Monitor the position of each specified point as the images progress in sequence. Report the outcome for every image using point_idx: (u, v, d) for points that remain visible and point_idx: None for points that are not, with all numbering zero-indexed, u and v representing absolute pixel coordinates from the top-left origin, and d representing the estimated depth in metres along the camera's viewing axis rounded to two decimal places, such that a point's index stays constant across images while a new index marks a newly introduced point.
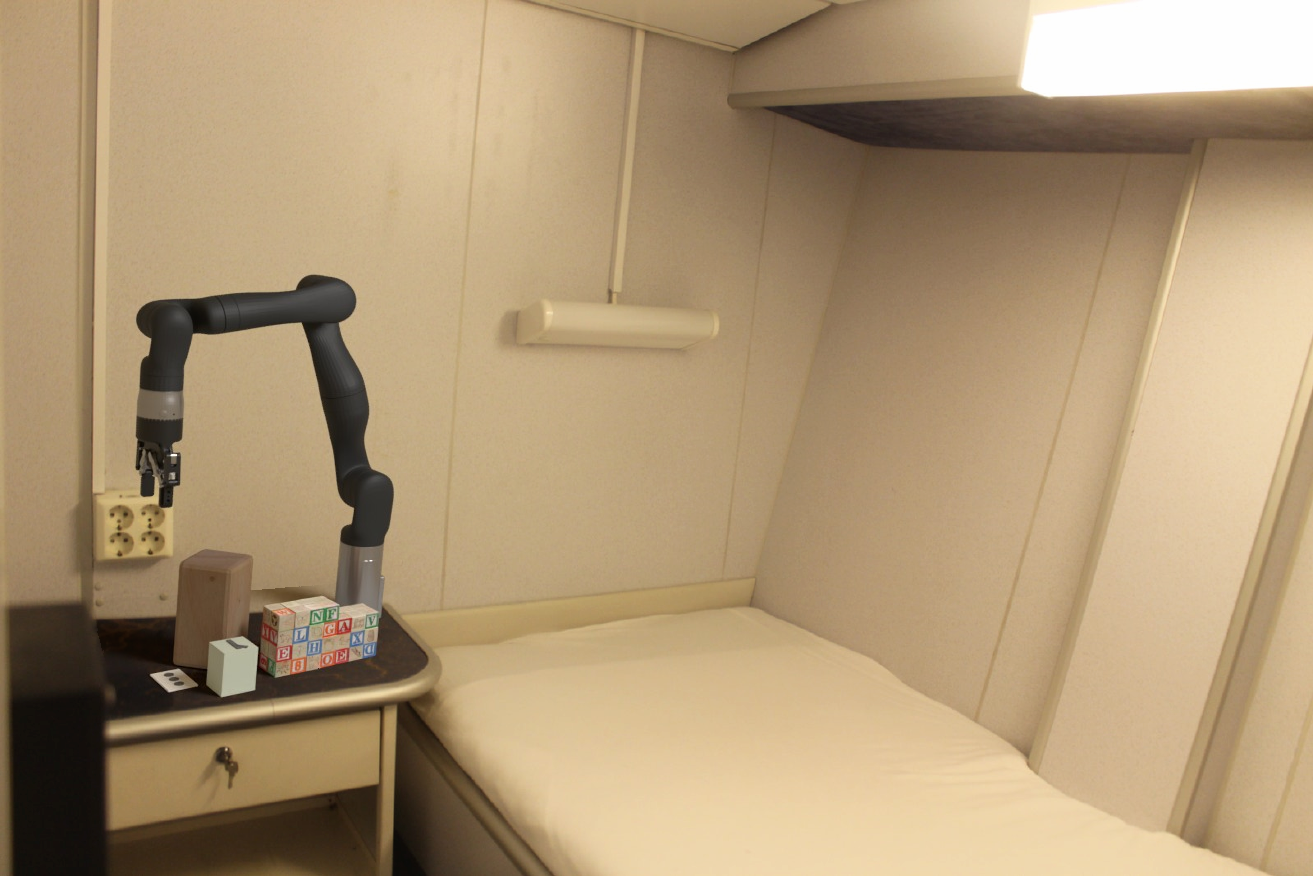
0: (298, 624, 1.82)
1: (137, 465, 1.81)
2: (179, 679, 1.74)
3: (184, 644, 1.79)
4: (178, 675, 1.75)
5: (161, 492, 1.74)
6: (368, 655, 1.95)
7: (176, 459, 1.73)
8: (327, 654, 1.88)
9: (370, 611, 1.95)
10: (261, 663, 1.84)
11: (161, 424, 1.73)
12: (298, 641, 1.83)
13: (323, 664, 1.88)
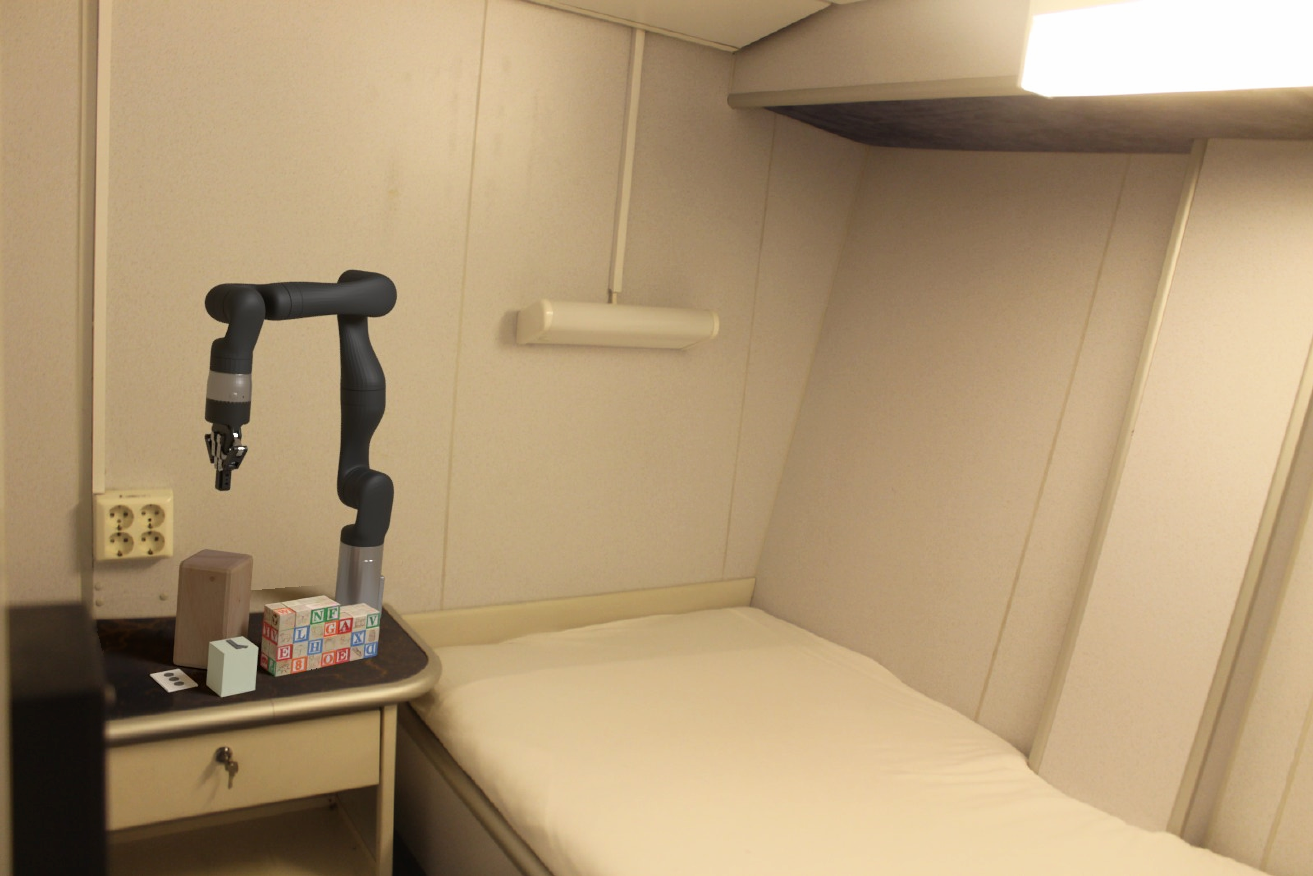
0: (299, 623, 1.82)
1: (211, 457, 1.80)
2: (179, 679, 1.74)
3: (184, 644, 1.79)
4: (178, 675, 1.75)
5: (220, 475, 1.78)
6: (369, 655, 1.95)
7: (242, 452, 1.75)
8: (327, 653, 1.88)
9: (371, 611, 1.95)
10: (262, 662, 1.84)
11: (231, 406, 1.74)
12: (298, 640, 1.83)
13: (324, 663, 1.88)
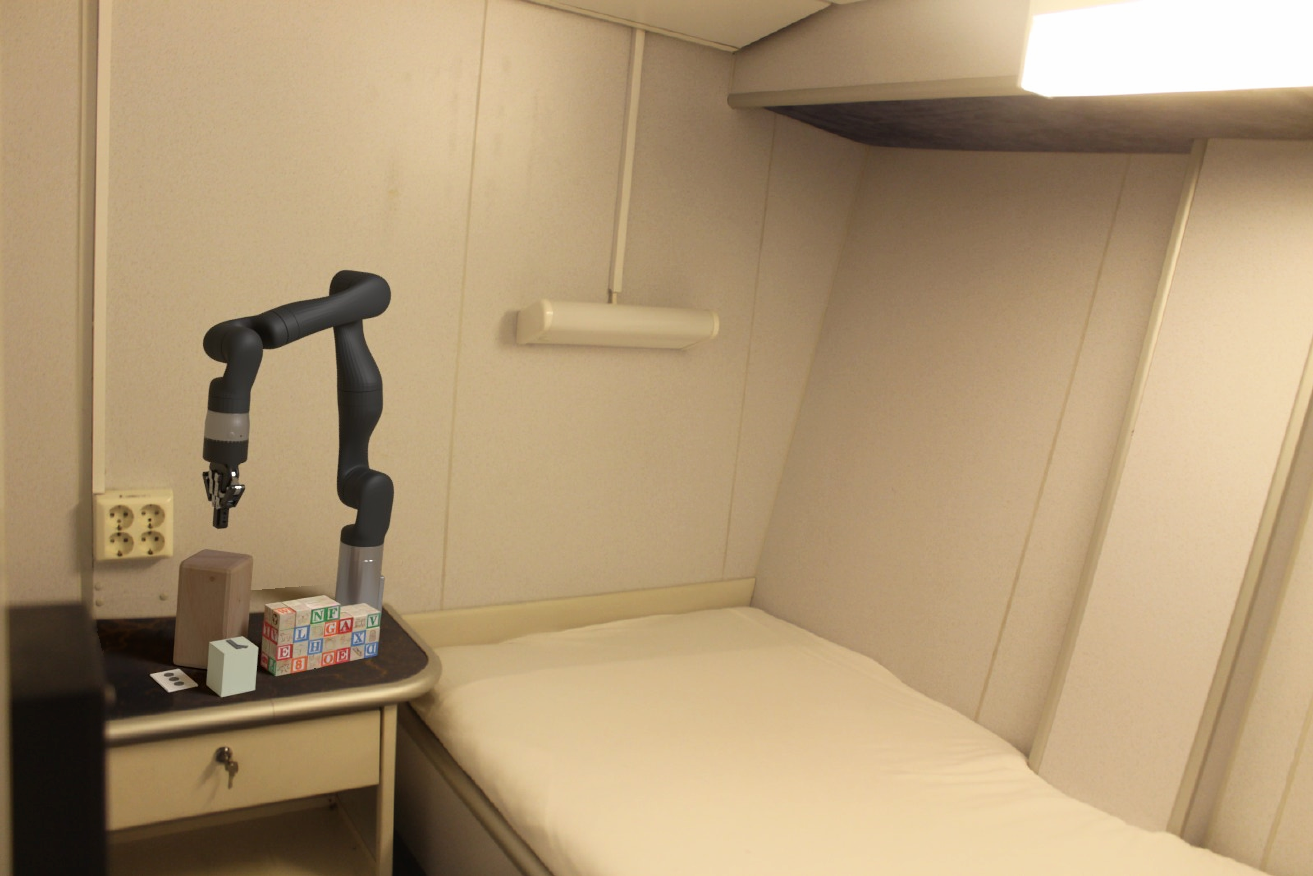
0: (299, 623, 1.83)
1: (209, 495, 1.81)
2: (179, 679, 1.74)
3: (184, 644, 1.79)
4: (178, 675, 1.75)
5: (217, 513, 1.79)
6: (370, 655, 1.95)
7: (239, 491, 1.76)
8: (328, 653, 1.88)
9: (371, 611, 1.95)
10: (262, 661, 1.85)
11: (229, 445, 1.75)
12: (298, 640, 1.83)
13: (324, 663, 1.88)
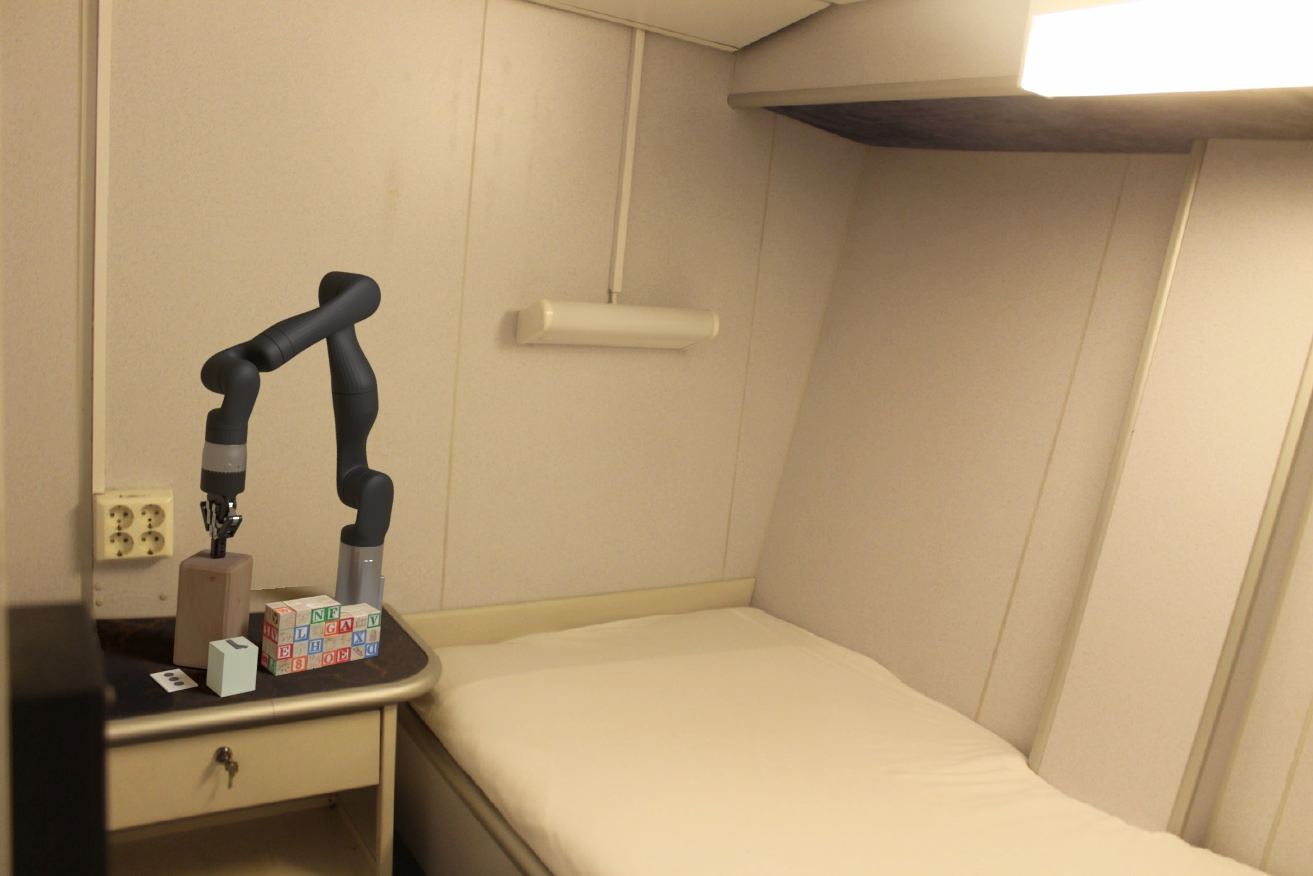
0: (299, 623, 1.83)
1: (206, 525, 1.81)
2: (179, 679, 1.74)
3: (184, 644, 1.79)
4: (178, 675, 1.75)
5: (215, 543, 1.80)
6: (370, 655, 1.96)
7: (237, 521, 1.77)
8: (328, 653, 1.89)
9: (372, 611, 1.95)
10: (263, 661, 1.85)
11: (226, 477, 1.76)
12: (299, 639, 1.83)
13: (324, 663, 1.88)
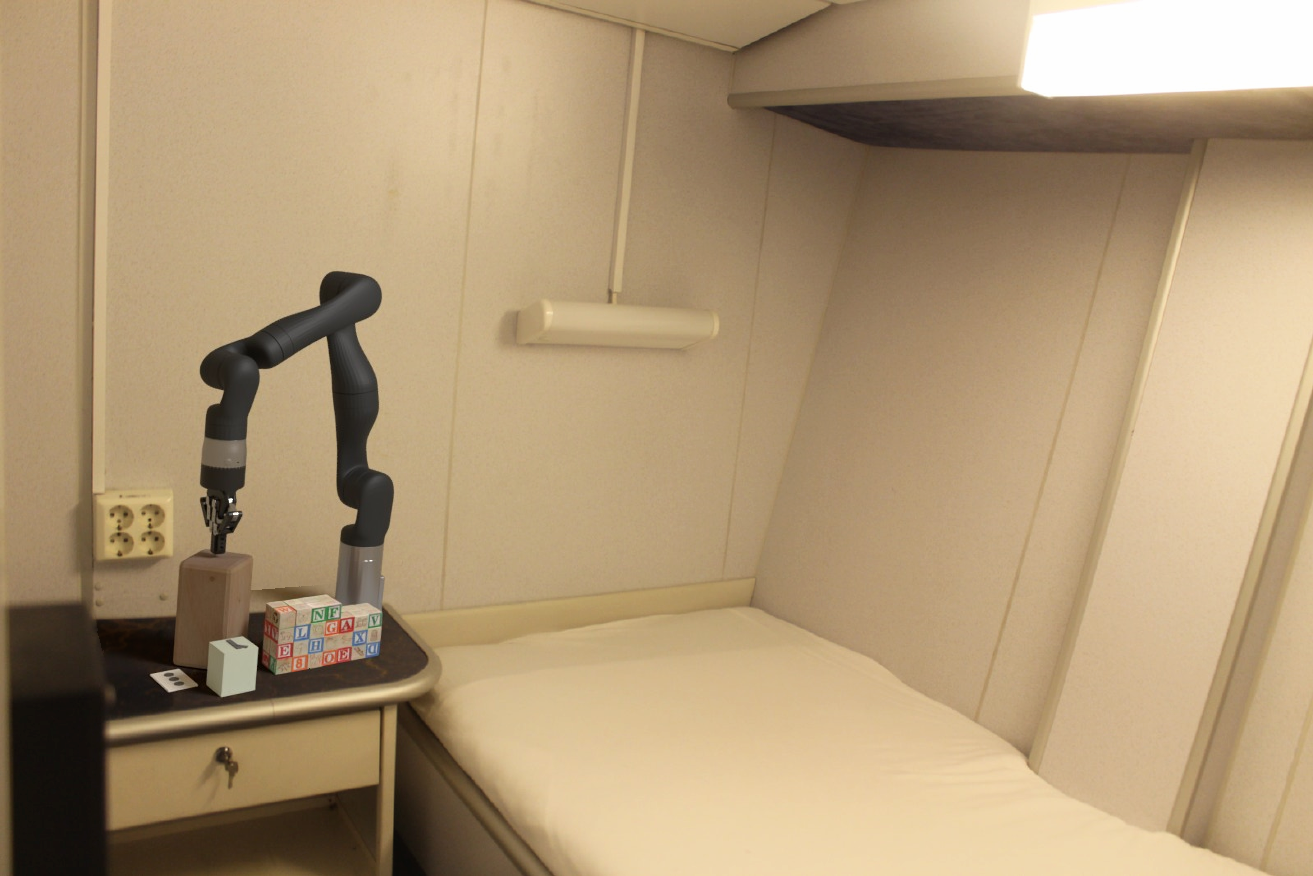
0: (300, 622, 1.83)
1: (206, 521, 1.81)
2: (179, 679, 1.74)
3: (184, 644, 1.79)
4: (178, 675, 1.75)
5: (215, 539, 1.80)
6: (371, 654, 1.96)
7: (236, 517, 1.77)
8: (328, 652, 1.89)
9: (373, 611, 1.95)
10: (263, 660, 1.85)
11: (226, 472, 1.76)
12: (299, 639, 1.84)
13: (325, 662, 1.89)
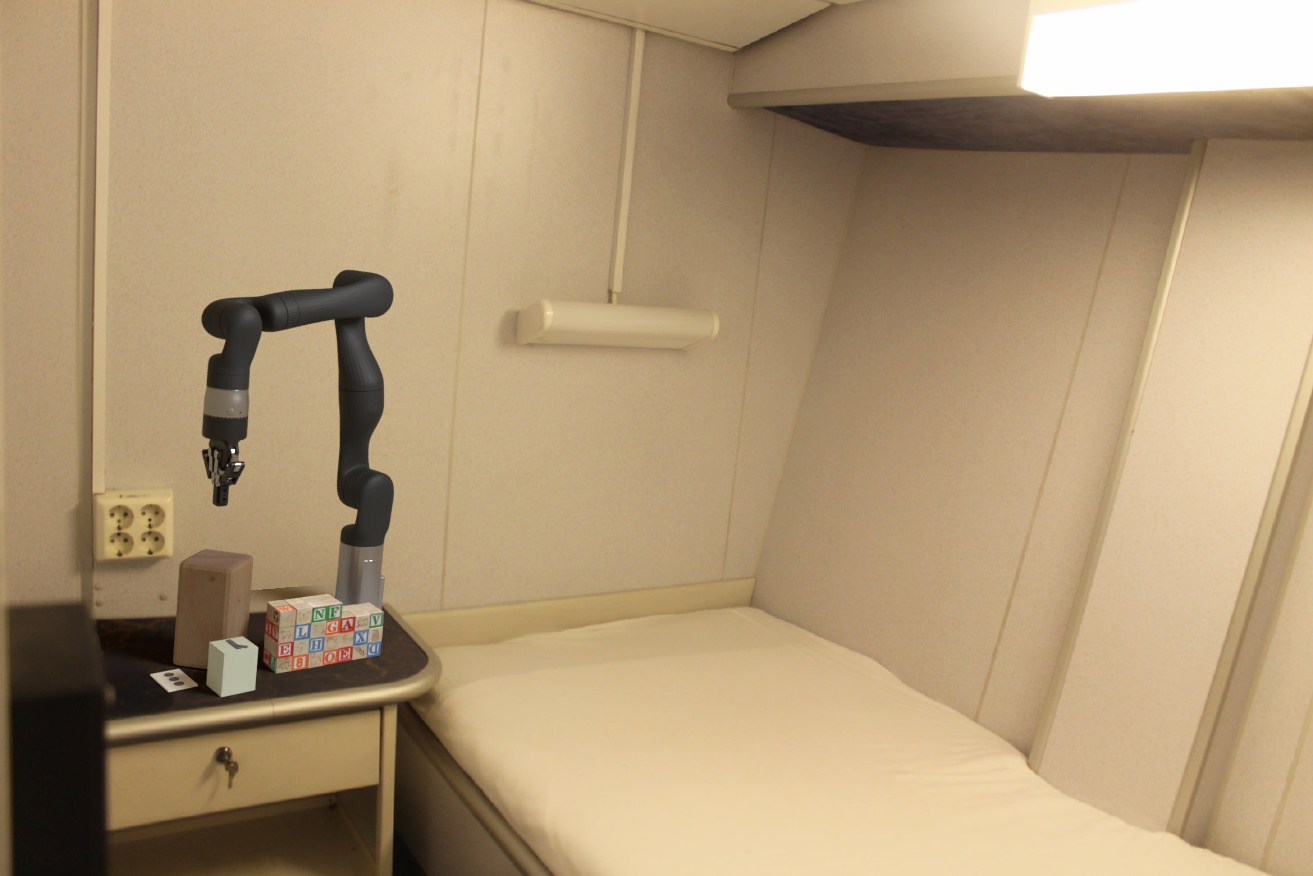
0: (300, 621, 1.84)
1: (209, 473, 1.80)
2: (179, 679, 1.74)
3: (184, 644, 1.79)
4: (178, 675, 1.75)
5: (217, 491, 1.78)
6: (372, 654, 1.96)
7: (239, 468, 1.75)
8: (329, 651, 1.89)
9: (375, 610, 1.96)
10: (264, 658, 1.86)
11: (228, 422, 1.74)
12: (299, 638, 1.84)
13: (326, 662, 1.89)
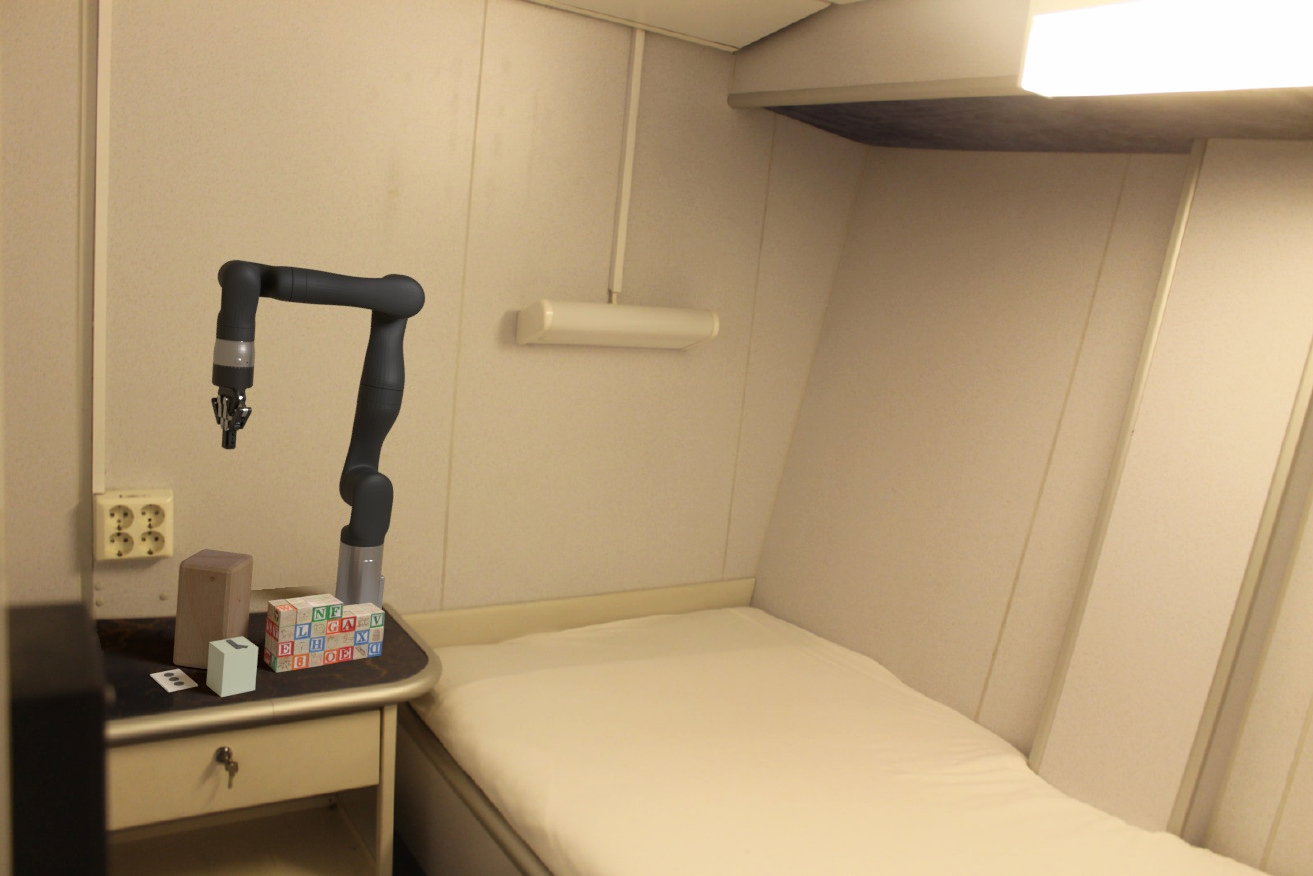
0: (300, 620, 1.84)
1: (218, 419, 1.96)
2: (179, 679, 1.74)
3: (184, 644, 1.79)
4: (178, 675, 1.75)
5: (226, 435, 1.95)
6: (373, 654, 1.96)
7: (246, 413, 1.92)
8: (330, 651, 1.89)
9: (376, 610, 1.96)
10: (265, 657, 1.87)
11: (236, 371, 1.91)
12: (300, 637, 1.85)
13: (326, 661, 1.89)
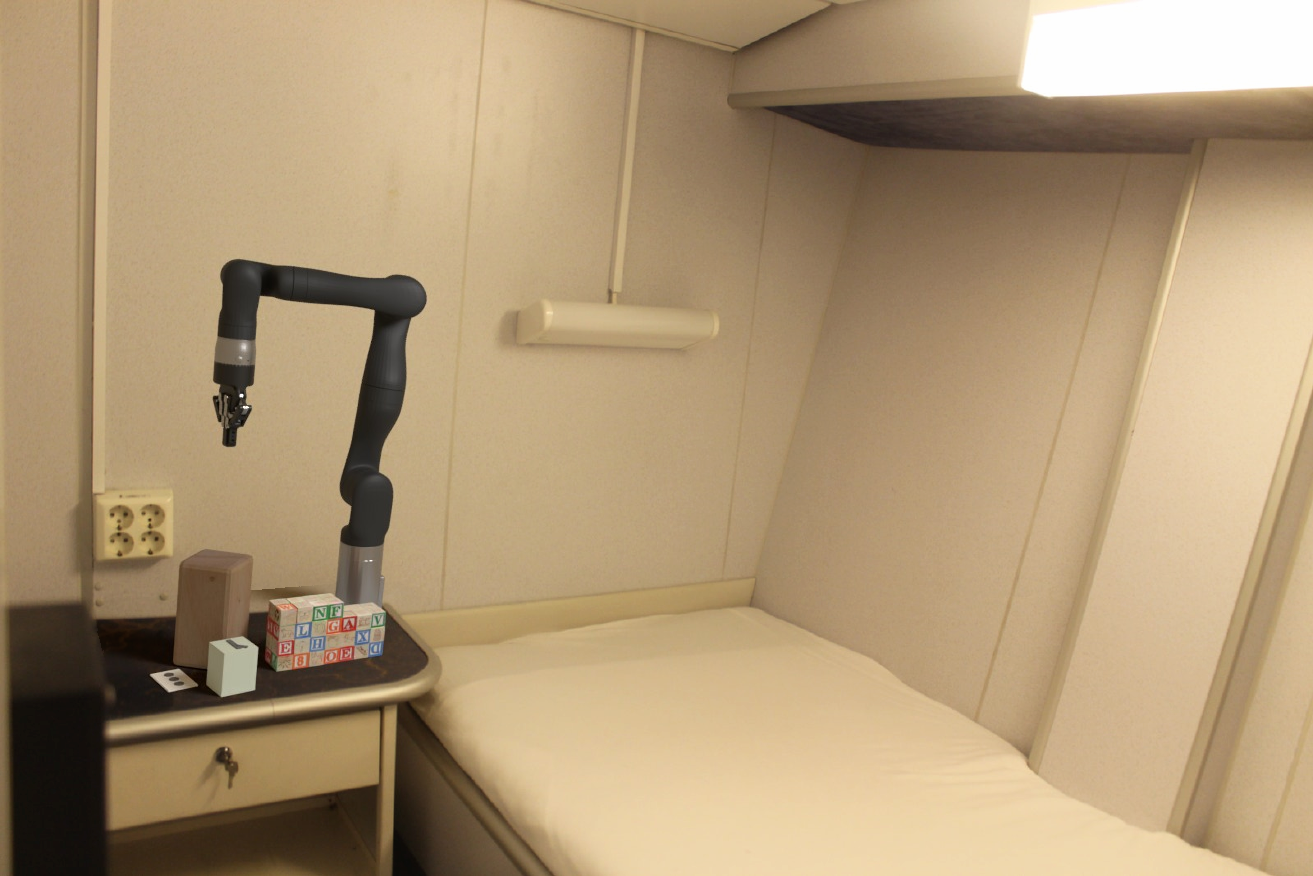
0: (301, 620, 1.84)
1: (219, 416, 1.97)
2: (179, 679, 1.74)
3: (184, 644, 1.79)
4: (178, 675, 1.75)
5: (226, 432, 1.96)
6: (374, 654, 1.96)
7: (246, 411, 1.93)
8: (330, 651, 1.90)
9: (377, 610, 1.96)
10: (266, 656, 1.87)
11: (237, 369, 1.92)
12: (300, 636, 1.85)
13: (327, 661, 1.90)
